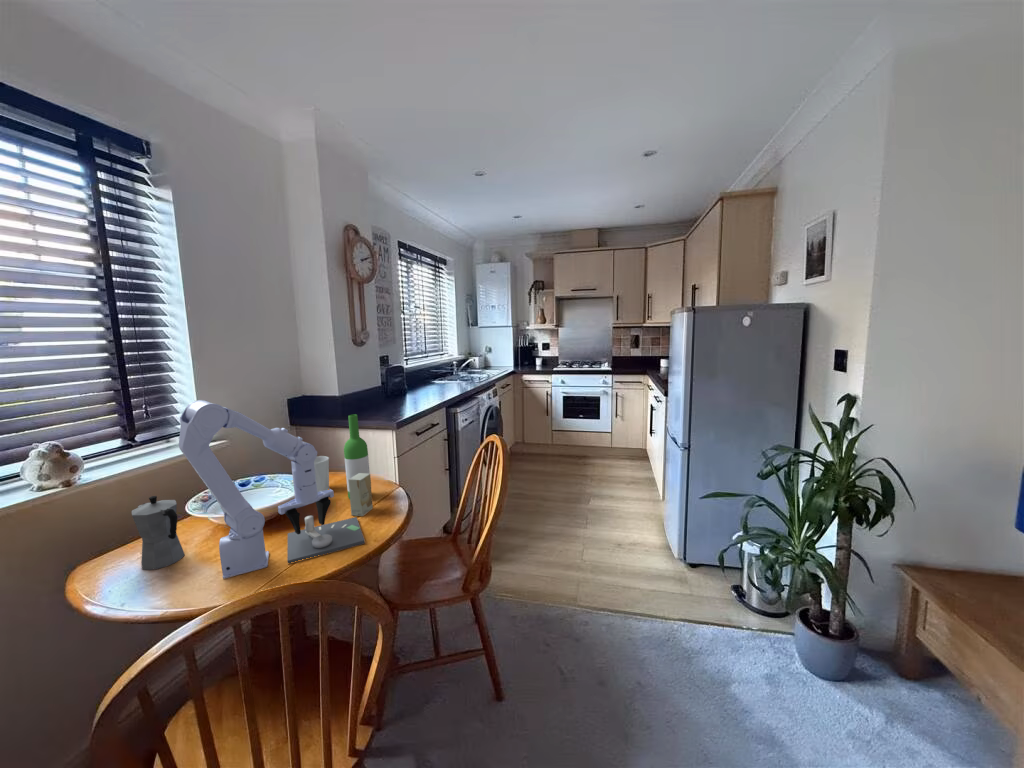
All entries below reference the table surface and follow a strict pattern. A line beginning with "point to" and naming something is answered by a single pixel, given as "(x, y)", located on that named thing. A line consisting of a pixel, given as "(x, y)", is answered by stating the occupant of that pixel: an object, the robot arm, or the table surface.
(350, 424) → the wine bottle
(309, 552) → the gauge board
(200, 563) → the table surface
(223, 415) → the robot arm
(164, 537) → the coffeepot
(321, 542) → the tuning lever
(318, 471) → the cup
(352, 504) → the skincare box
